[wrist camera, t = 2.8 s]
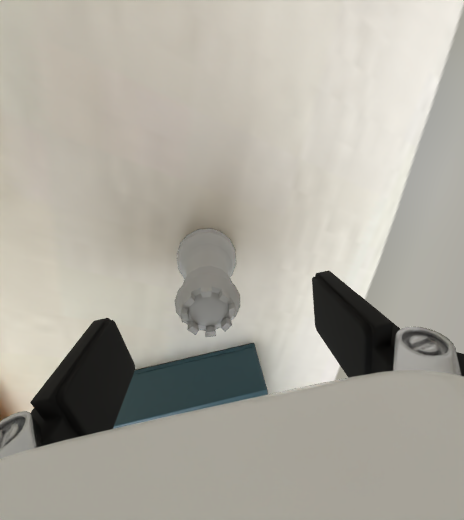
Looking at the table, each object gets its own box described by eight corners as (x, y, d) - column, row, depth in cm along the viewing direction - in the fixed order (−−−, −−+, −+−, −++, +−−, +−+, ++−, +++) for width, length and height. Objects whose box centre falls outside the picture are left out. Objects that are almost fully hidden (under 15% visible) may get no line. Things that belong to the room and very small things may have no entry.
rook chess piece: (176, 277, 18) (156, 351, 11) (179, 223, 17) (160, 266, 9) (230, 282, 19) (247, 354, 12) (239, 230, 18) (264, 275, 10)
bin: (79, 383, 21) (45, 442, 17) (253, 342, 22) (267, 389, 17) (140, 478, 28) (127, 541, 23) (274, 445, 28) (287, 500, 24)
